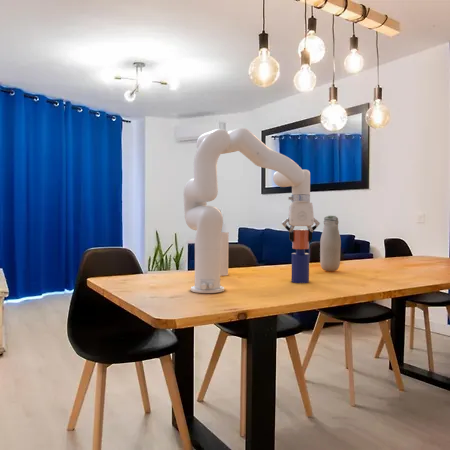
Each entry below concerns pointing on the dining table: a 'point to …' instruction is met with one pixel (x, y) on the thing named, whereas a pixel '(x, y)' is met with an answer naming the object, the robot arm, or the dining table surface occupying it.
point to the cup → (300, 239)
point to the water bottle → (300, 266)
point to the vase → (224, 254)
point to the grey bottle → (330, 244)
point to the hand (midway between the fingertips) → (300, 241)
